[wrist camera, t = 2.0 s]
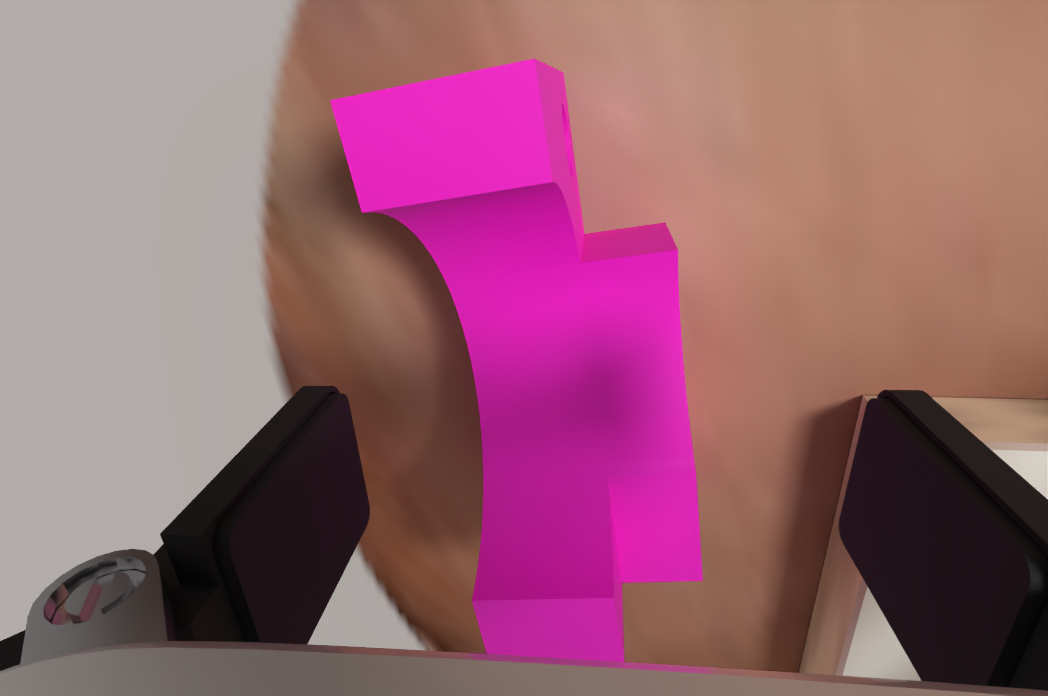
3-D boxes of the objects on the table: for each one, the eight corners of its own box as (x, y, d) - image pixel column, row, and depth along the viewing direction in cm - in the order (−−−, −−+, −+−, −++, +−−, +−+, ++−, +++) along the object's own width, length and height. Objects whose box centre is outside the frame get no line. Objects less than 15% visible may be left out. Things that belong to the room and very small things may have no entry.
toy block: (683, 488, 21) (720, 670, 15) (524, 497, 23) (491, 669, 16) (651, 55, 16) (688, 26, 9) (440, 97, 17) (329, 100, 10)
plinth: (1209, 403, 17) (1321, 460, 15) (1016, 772, 25) (1066, 854, 22) (862, 395, 19) (906, 446, 16) (781, 747, 26) (801, 822, 24)
